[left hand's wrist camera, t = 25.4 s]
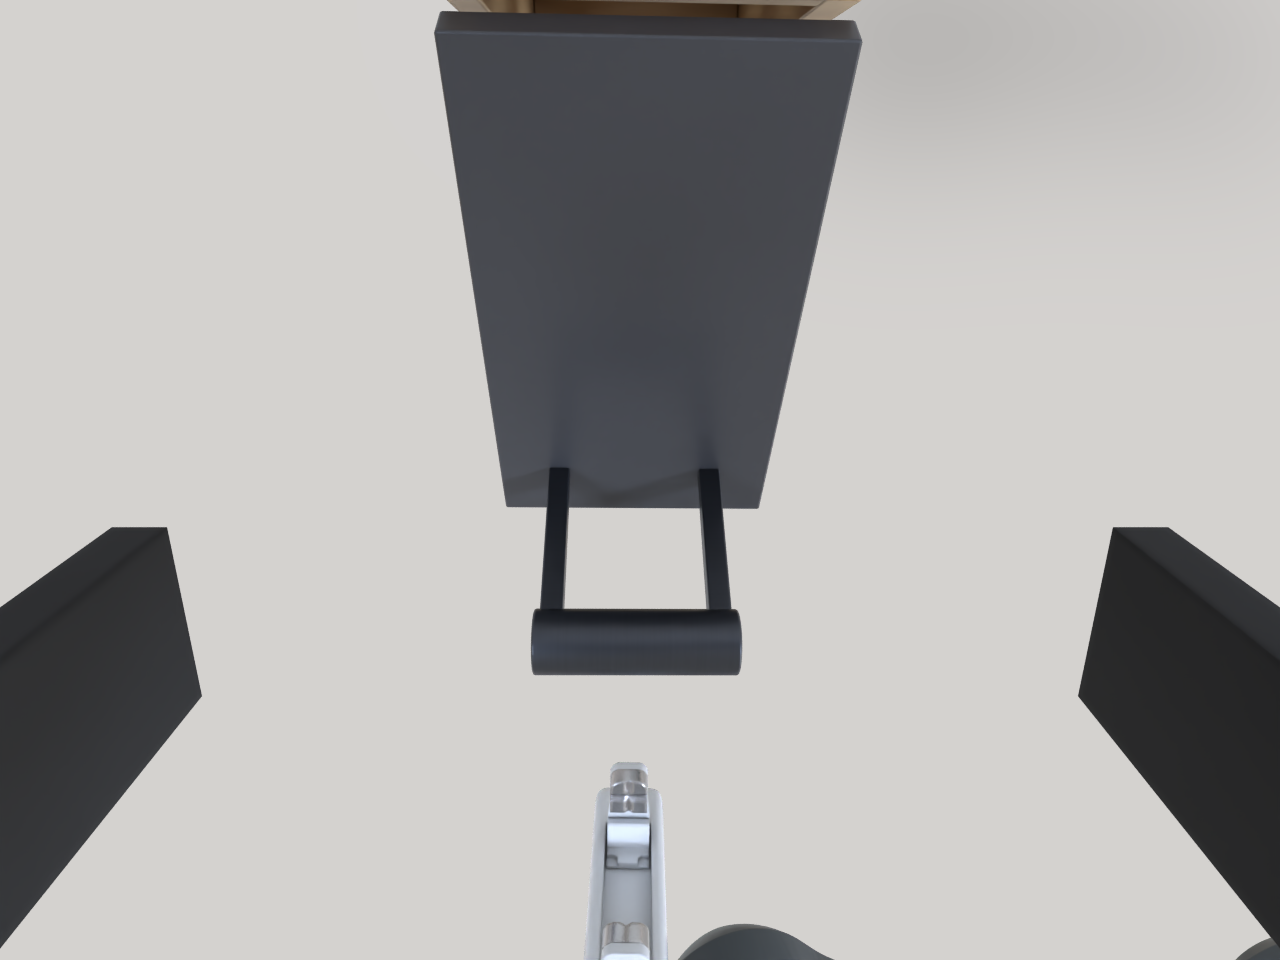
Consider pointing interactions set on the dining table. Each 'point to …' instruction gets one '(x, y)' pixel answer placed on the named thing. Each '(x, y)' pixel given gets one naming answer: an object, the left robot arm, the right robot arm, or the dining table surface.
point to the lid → (640, 277)
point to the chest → (668, 7)
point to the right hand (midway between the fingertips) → (627, 844)
